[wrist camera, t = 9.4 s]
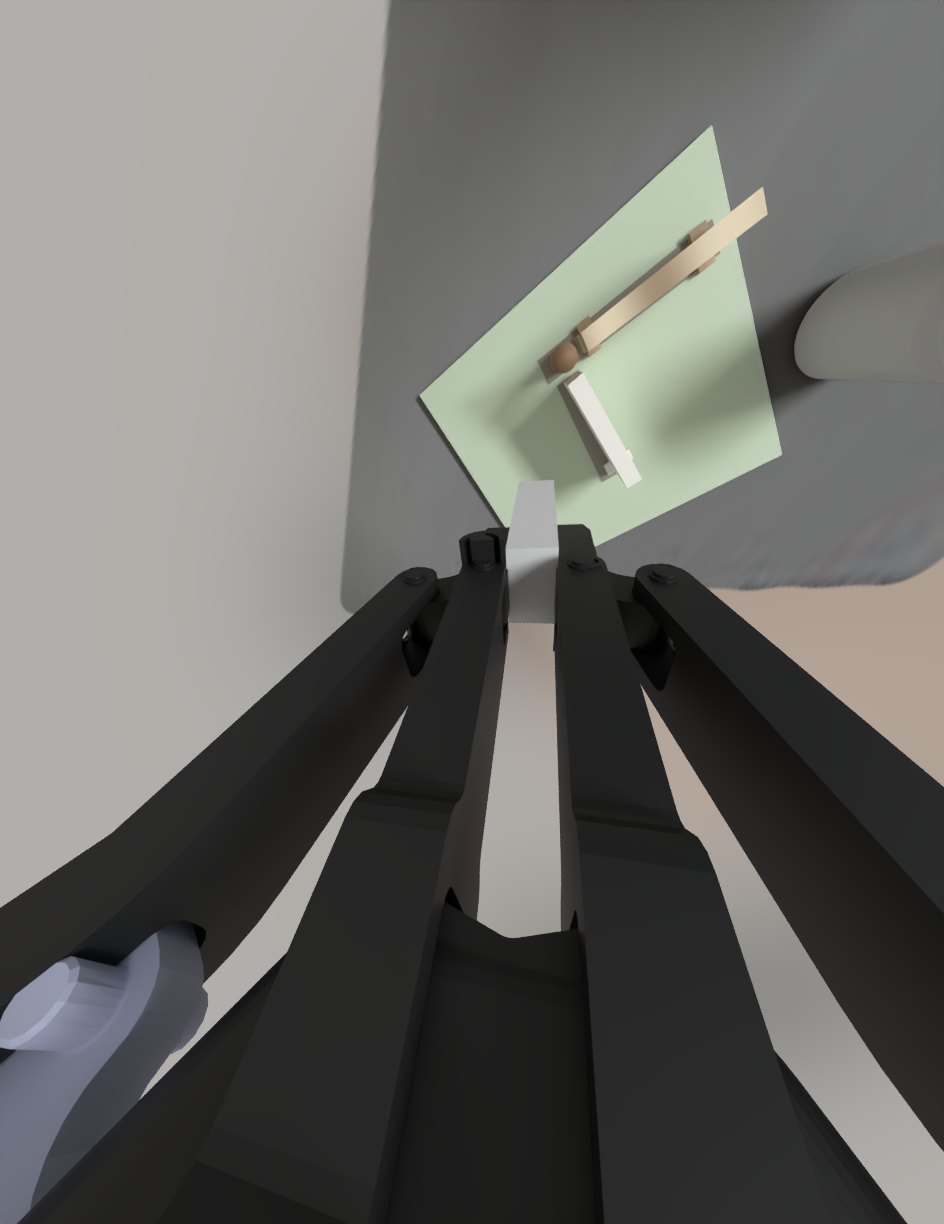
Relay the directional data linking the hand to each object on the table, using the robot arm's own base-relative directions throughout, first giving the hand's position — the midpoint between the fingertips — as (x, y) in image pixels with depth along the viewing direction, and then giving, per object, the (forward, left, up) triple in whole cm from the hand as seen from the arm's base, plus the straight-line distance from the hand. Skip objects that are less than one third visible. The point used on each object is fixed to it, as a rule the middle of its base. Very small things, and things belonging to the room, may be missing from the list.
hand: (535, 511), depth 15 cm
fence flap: (-5, +2, -20) cm, 21 cm away
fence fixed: (-10, -4, -21) cm, 23 cm away
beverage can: (-22, +6, -21) cm, 31 cm away
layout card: (-5, +2, -21) cm, 21 cm away
